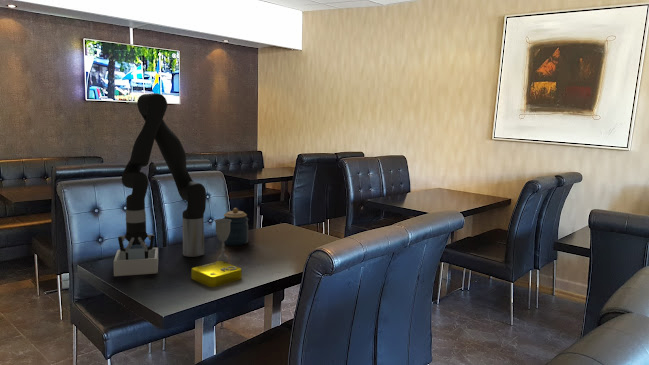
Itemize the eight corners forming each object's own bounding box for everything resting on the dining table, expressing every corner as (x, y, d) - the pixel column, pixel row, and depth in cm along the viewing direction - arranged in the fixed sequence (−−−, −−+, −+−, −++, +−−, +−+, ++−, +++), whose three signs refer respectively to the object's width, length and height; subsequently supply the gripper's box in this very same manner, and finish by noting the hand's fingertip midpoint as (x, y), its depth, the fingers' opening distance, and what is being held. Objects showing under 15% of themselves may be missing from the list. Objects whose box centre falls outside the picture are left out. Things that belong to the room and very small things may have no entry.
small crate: (145, 259, 197) (145, 243, 196) (144, 265, 189) (144, 248, 188) (130, 260, 195) (129, 244, 194) (128, 266, 187) (128, 249, 186)
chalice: (214, 263, 202) (214, 222, 199) (214, 258, 208) (214, 218, 206) (232, 262, 204) (232, 222, 201) (230, 257, 210) (231, 218, 208)
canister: (217, 244, 231) (217, 209, 228) (229, 237, 243) (230, 204, 241) (241, 247, 227) (241, 211, 225) (252, 240, 239) (253, 206, 237)
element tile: (221, 270, 195) (221, 259, 194) (243, 279, 185) (243, 267, 184) (189, 278, 183) (189, 267, 183) (211, 289, 174) (211, 276, 173)
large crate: (158, 260, 202) (158, 247, 201) (157, 273, 187) (157, 258, 186) (118, 263, 197) (117, 249, 196) (113, 276, 182) (113, 261, 181)
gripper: (155, 217, 195) (155, 256, 198) (117, 218, 191) (119, 258, 193) (154, 221, 188) (155, 261, 190) (115, 222, 184) (117, 264, 186)
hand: (137, 259), depth 192 cm, fingers closed on small crate, 6 cm apart
